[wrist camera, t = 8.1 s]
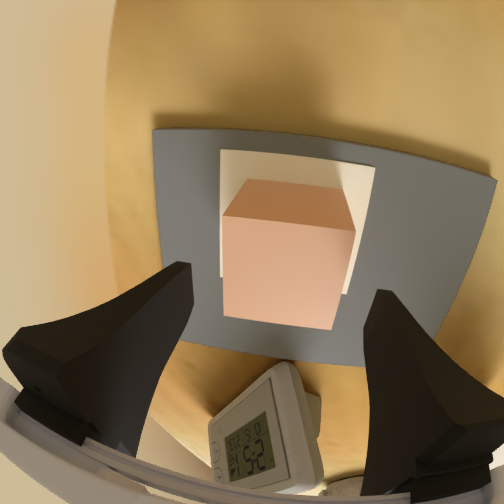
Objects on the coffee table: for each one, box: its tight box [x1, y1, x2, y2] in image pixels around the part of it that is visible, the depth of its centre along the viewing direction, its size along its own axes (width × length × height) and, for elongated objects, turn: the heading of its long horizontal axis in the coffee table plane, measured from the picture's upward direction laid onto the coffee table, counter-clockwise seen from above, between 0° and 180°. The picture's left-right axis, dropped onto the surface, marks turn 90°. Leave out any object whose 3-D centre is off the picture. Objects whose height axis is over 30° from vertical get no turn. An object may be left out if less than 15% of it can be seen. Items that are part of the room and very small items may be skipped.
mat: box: [152, 128, 497, 367], centre depth 18 cm, size 20×16×1 cm
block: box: [222, 179, 356, 330], centre depth 14 cm, size 5×5×5 cm
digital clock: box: [208, 361, 324, 494], centre depth 23 cm, size 16×9×11 cm, turn 141°
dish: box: [319, 476, 364, 497], centre depth 37 cm, size 14×14×5 cm
